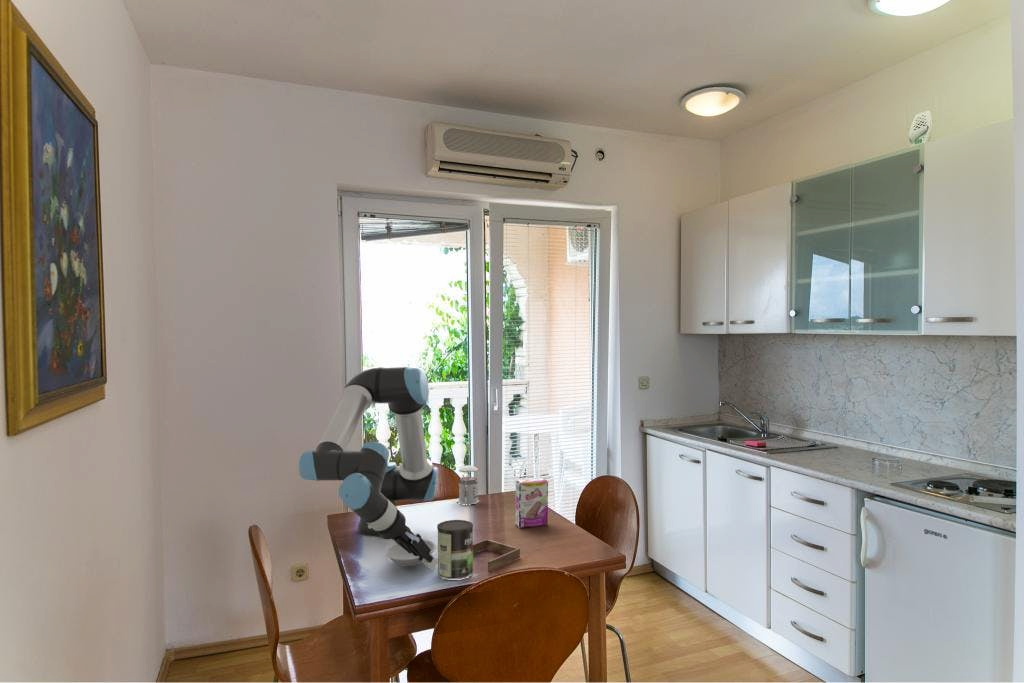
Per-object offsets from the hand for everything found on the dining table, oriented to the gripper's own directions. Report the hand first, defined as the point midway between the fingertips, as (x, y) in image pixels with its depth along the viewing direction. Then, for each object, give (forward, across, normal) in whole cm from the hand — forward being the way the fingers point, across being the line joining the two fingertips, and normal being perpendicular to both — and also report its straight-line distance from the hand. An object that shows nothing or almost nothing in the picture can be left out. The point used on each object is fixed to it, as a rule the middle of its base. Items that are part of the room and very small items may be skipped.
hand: (434, 565), depth 161 cm
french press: (+49, -50, +42) cm, 81 cm away
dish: (+7, -15, 0) cm, 17 cm away
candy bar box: (+44, -10, +37) cm, 59 cm away
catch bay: (+19, 0, +12) cm, 23 cm away
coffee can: (+10, 0, +2) cm, 10 cm away
